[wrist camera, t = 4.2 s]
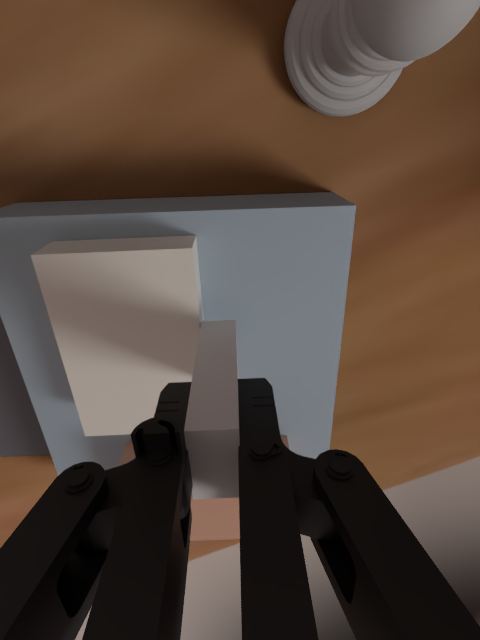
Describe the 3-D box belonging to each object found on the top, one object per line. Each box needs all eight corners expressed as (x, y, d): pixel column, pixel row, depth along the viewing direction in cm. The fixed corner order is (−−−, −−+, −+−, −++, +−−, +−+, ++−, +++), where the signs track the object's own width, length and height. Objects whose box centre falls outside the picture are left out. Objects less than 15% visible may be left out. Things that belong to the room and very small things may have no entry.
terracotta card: (286, 435, 21) (292, 464, 19) (284, 506, 23) (288, 536, 22) (127, 441, 21) (117, 470, 19) (142, 511, 23) (135, 542, 22)
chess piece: (257, 56, 16) (282, -23, 8) (347, -72, 14) (496, -338, 6) (340, 143, 18) (431, 149, 10) (430, 38, 16) (635, -61, 8)
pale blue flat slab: (332, 191, 19) (356, 205, 15) (310, 460, 27) (322, 509, 24) (16, 202, 19) (-35, 218, 15) (94, 469, 27) (74, 519, 24)
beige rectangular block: (196, 235, 15) (192, 248, 14) (211, 403, 20) (209, 430, 18) (53, 241, 15) (30, 255, 14) (98, 408, 19) (85, 436, 18)
